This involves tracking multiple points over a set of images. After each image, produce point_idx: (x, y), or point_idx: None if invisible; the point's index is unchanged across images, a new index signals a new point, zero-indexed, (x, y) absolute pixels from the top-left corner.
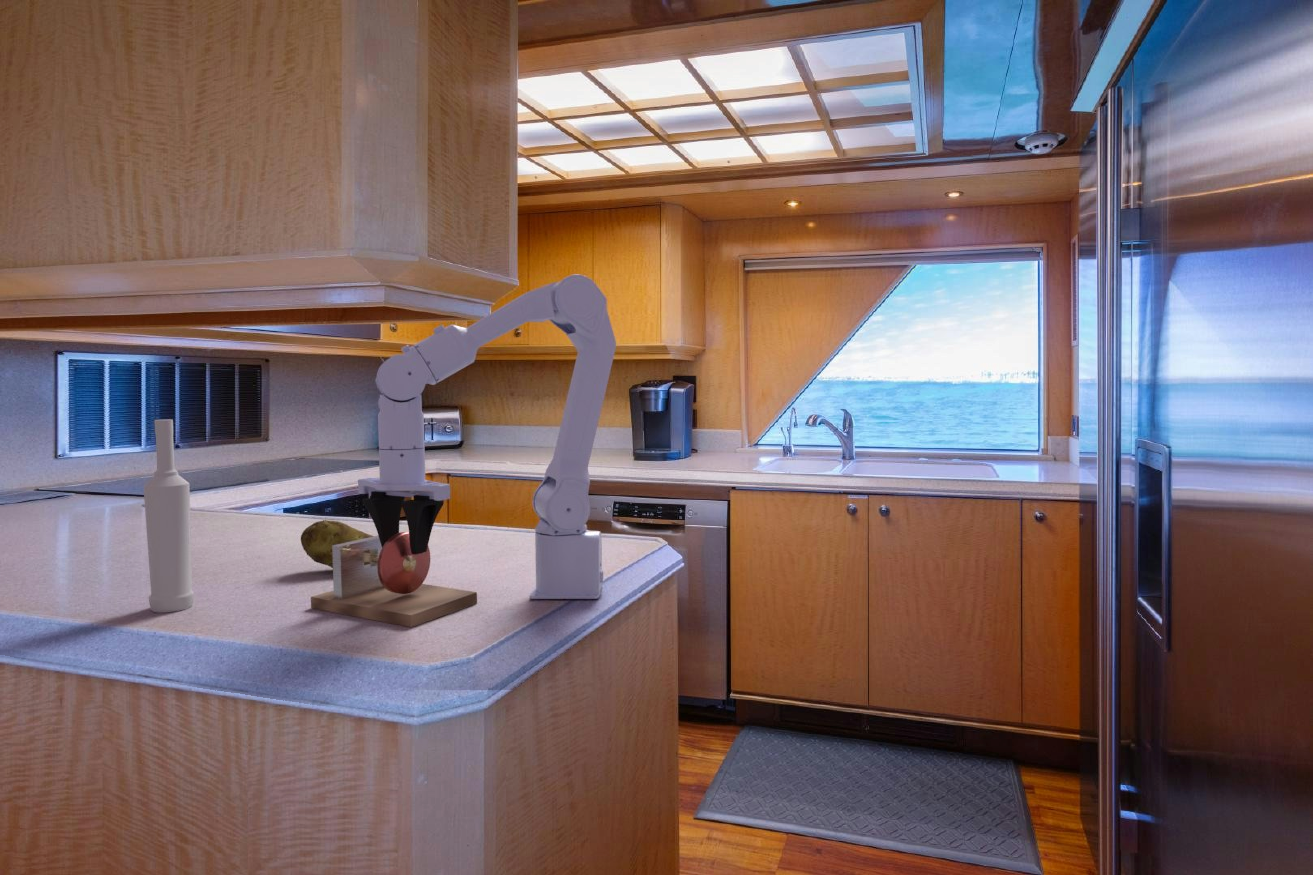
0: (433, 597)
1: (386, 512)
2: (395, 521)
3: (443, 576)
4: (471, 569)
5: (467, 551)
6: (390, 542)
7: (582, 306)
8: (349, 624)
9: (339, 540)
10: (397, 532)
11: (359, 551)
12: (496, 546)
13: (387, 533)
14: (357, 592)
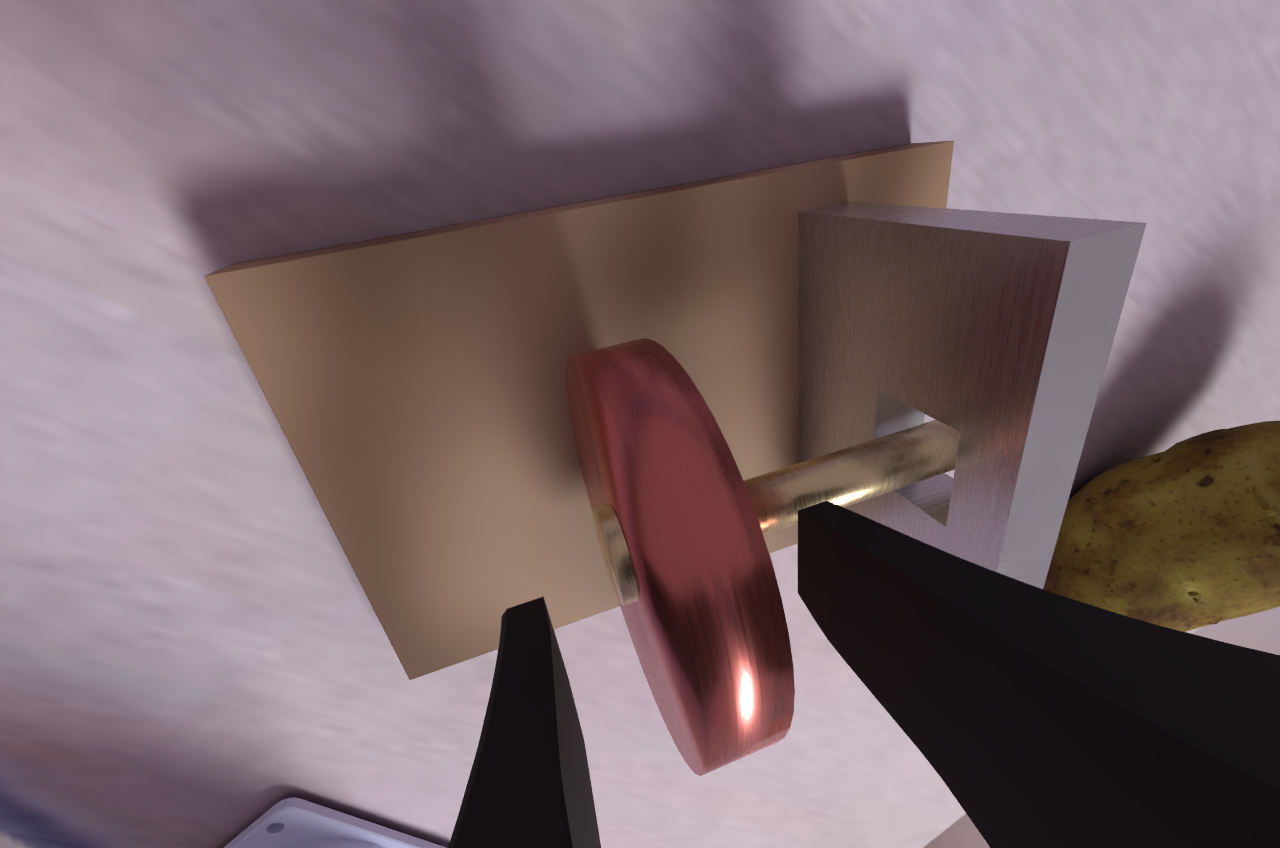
0: (478, 521)
1: (1091, 803)
2: (955, 758)
3: (806, 669)
4: (793, 748)
5: (930, 783)
6: (708, 541)
7: None
8: (548, 81)
9: (1235, 526)
10: (871, 681)
11: (968, 401)
12: (899, 843)
13: (888, 612)
14: (804, 310)
